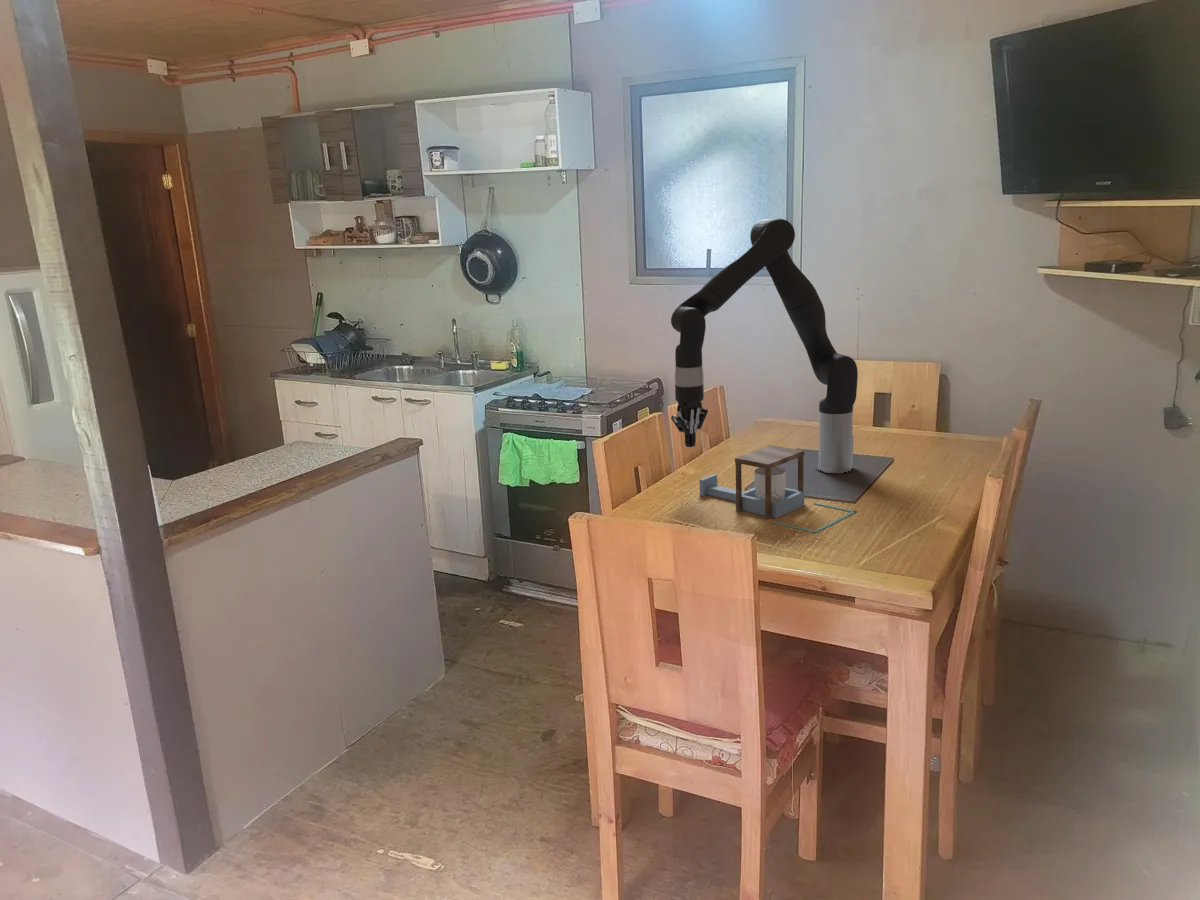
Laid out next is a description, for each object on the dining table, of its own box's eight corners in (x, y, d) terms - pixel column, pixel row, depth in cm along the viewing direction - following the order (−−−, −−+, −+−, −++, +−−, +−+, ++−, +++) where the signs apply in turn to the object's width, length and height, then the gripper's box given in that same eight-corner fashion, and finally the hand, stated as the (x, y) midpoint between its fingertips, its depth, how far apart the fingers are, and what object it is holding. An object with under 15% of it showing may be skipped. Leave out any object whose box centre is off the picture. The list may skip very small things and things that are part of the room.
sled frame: (721, 486, 237) (720, 471, 236) (804, 505, 219) (804, 488, 217) (692, 498, 229) (691, 482, 228) (776, 518, 210) (776, 501, 209)
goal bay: (815, 504, 220) (815, 502, 220) (856, 513, 212) (856, 511, 212) (773, 524, 208) (773, 522, 207) (815, 534, 200) (815, 532, 199)
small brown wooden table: (771, 497, 227) (770, 444, 224) (803, 504, 220) (804, 450, 217) (735, 512, 217) (734, 458, 214) (768, 520, 210) (768, 464, 207)
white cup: (787, 504, 221) (787, 466, 219) (783, 514, 214) (783, 475, 211) (756, 502, 224) (756, 465, 221) (751, 512, 217) (751, 474, 214)
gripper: (683, 388, 222) (685, 453, 227) (716, 380, 231) (716, 443, 235) (661, 385, 227) (663, 449, 232) (694, 377, 236) (695, 439, 241)
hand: (690, 446), depth 234 cm, fingers closed
